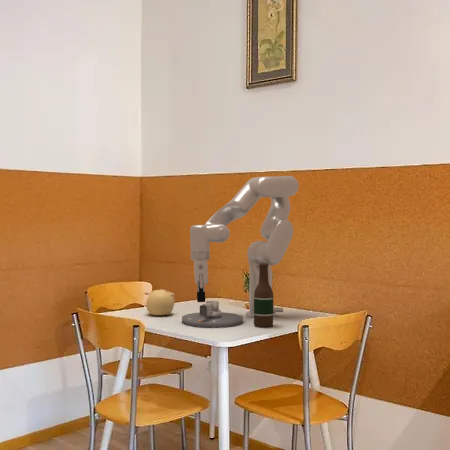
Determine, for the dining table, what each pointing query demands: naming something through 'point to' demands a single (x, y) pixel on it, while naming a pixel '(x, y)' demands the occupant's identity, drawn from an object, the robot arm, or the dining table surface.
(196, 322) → the dial plate
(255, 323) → the beer bottle
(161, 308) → the sculpture
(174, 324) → the dining table surface
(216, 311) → the dial
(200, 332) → the dining table surface
